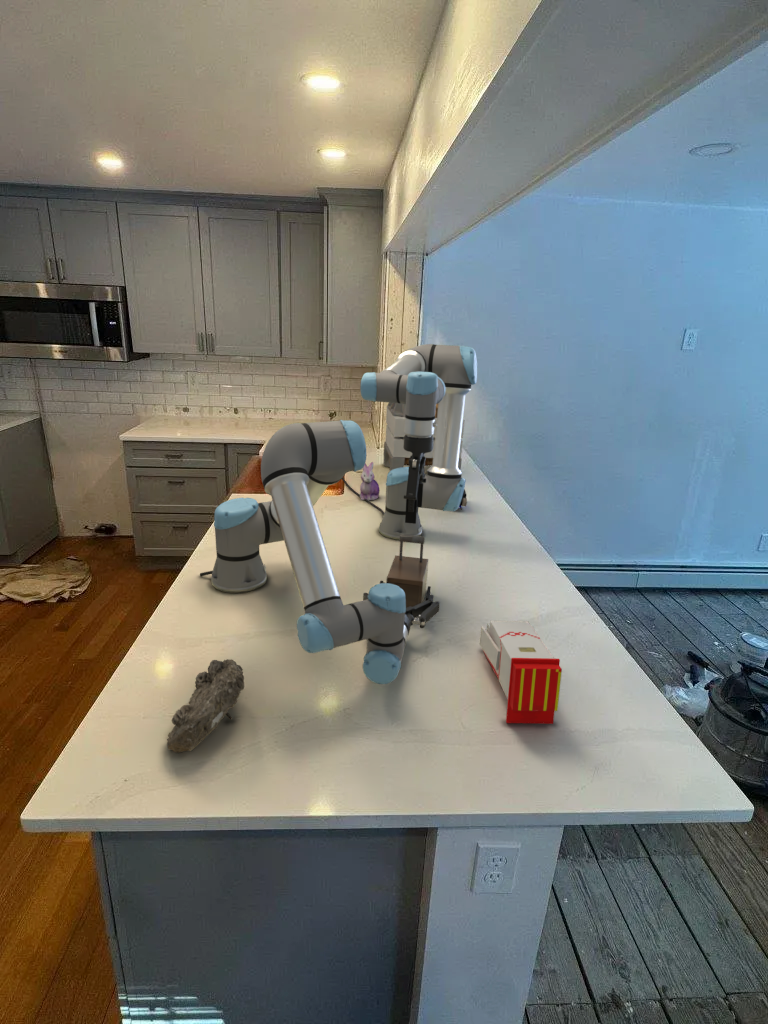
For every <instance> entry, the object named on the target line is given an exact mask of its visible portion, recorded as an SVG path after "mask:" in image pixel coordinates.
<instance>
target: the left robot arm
mask: <svg viewBox="0 0 768 1024" xmlns="http://www.w3.org/2000/svg"><path fill="white" fill-rule="evenodd" d="M366 462H367V444H366V439H365V435H364V432H363V430H362V428H361V426H360V425H359V424H358V423H357V422H356V421H354V420H343V419H339V420H330V421H315V422H314V421H313V422H301V423H300V422H294V423H288V424H287V425H284V426H283V427H281V428H279V429H278V430H277V431H276V432H274V433H273V434H272V435H271V437H270V439H268V441H267V443H266V444H265V447H264V450H263V452H262V456H261V461H260V477H261V482H262V486H263V489H264V492H265V494H267V495H269V496H271V500H270V501H262V502H258V501H257V499H256V498H255V499H254V498H252V497H237V498H232V499H229V500H226V501H224V502H222V503H220V504H219V505H218V506H217V507H216V508H215V510H214V514H213V515H214V517H213V518H214V521H213V526H214V532H215V533H214V535H215V551H216V558H215V561H214V565H213V569H212V570H210V571H204V572H200V573H199V576H200V577H205V576H209V575H211V577H210V579H211V585H212V587H213V588H215V589H216V590H218V591H219V592H224V593H230V594H231V593H232V594H239V593H240V594H241V593H247V592H252V591H254V590H257V589H259V588H261V587H263V586H264V585H265V584H266V583H267V580H268V574H267V566H266V563H264V562H263V560H262V557H261V555H260V546H261V545H266V544H267V545H268V544H273V543H279V542H284V545H285V548H286V551H287V555H288V558H289V562H290V566H291V569H292V573H293V576H294V579H295V583H296V586H297V590H298V594H299V596H300V597H299V598H300V600H301V603H302V607H303V611H304V614H302V615H300V616H299V617H298V618H297V621H296V630H297V639H298V641H299V643H300V646H301V648H302V649H303V650H304V651H305V652H306V653H309V654H315V653H320V652H324V651H332V650H333V649H337V648H339V647H343V646H346V645H349V644H354V643H357V642H361V641H365V640H366V651H365V655H364V656H363V663H362V671H363V673H364V675H365V677H366V679H368V680H369V681H370V682H373V683H374V684H378V685H388V684H391V683H392V682H394V680H396V679H397V677H398V675H399V673H400V671H401V670H402V662H403V657H404V652H405V649H406V646H407V642H408V639H409V634H410V630H411V627H412V626H413V625H418V626H419V628H420V629H425V627H426V625H427V623H428V622H429V621H430V620H431V619H432V618H434V617H435V616H436V615H437V614H438V613H439V612H440V603H441V602H440V601H438V600H436V601H434V600H435V598H434V597H435V596H434V594H431V590H432V586H430V585H428V586H427V587H426V594H425V598H424V602H422V603H420V604H418V605H415V606H413V607H411V606H409V607H407V608H406V599H405V592H404V591H403V589H401V588H400V587H399V586H397V585H394V584H390V583H387V582H384V580H380V581H379V583H377V584H374V585H373V586H371V588H370V589H368V592H363V596H362V600H360V601H355V602H351V603H346V604H344V603H343V600H342V597H341V593H340V591H339V587H338V585H337V581H336V578H335V575H334V571H333V567H332V565H331V561H330V559H329V558H330V557H329V554H328V552H327V548H326V545H325V541H324V539H323V535H322V532H321V528H320V526H319V525H320V524H319V522H318V519H317V515H316V512H315V509H314V506H315V505H316V503H317V502H318V501H319V499H320V498H321V496H322V495H323V494H324V493H325V491H326V490H327V488H328V487H329V486H332V485H336V484H337V483H339V482H340V481H341V480H342V478H344V477H345V476H346V474H347V473H350V472H353V473H354V472H355V473H356V472H358V471H361V470H363V467H364V465H365V463H366Z"/></svg>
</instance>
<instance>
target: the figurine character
mask: <svg viewBox="0 0 768 1024" xmlns="http://www.w3.org/2000/svg"><path fill="white" fill-rule="evenodd" d="M467 503H468V498H467V492H466V488H464V492H463V496H462V499H461V502H460V505H459V509H460V511H463V507H464V508H465V507H467Z"/></svg>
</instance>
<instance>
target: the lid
mask: <svg viewBox="0 0 768 1024" xmlns="http://www.w3.org/2000/svg"><path fill="white" fill-rule="evenodd" d="M425 537H426V536H422V535H421V536H414V535H404V534H400V539H399V540H398V541H399V555H394V558H393V560H392V563H391V565H390V568H389V571H388V574H387V576H386V583H387V582H393V583H401V584H410V585H418V586H423V582H424V578H425V574H426V570H427V566H428V567H429V558H423V556H424V544H425V539H426V538H425ZM404 543H412V544H420V549H419V557H414V556H412V557H411V556H404V555H403V548H404Z"/></svg>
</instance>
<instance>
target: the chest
mask: <svg viewBox="0 0 768 1024" xmlns="http://www.w3.org/2000/svg"><path fill="white" fill-rule="evenodd" d="M428 568H429V565H428V566H427V570H426V574H425V578H424V582H423V586H418V585H410V584H401V583H393V582H387V581H386V583H390V584H394V585H397V586H399V587H400V588H401V589H403V591H404V592H405V599H406V608H407V607H409V606H411V607H413V606H415V605H418V604H420V603H422V602H424V601H425V597H426V593H427V584H428Z"/></svg>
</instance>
